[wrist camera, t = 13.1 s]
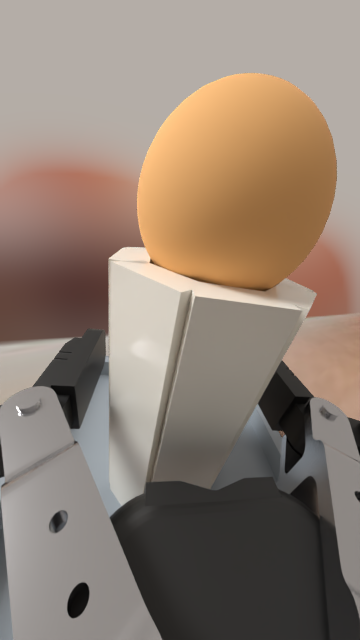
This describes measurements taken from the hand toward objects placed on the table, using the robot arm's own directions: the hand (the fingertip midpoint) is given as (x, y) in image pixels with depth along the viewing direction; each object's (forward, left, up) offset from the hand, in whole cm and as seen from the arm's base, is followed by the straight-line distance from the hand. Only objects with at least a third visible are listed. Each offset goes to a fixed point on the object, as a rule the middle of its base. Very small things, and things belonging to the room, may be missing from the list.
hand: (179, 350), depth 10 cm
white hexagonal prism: (0, -2, -7) cm, 7 cm away
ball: (0, -2, +6) cm, 7 cm away
